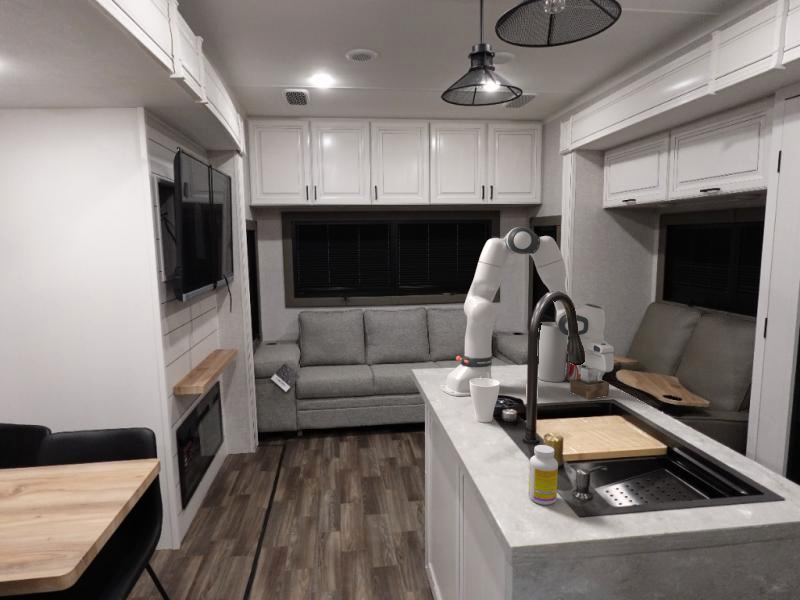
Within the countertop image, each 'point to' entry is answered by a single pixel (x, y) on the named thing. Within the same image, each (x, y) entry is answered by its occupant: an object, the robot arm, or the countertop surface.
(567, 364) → the soda can
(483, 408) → the cup
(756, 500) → the countertop surface
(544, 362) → the cylinder vase
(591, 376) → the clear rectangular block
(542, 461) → the supplement bottle
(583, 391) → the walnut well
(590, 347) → the robot arm
